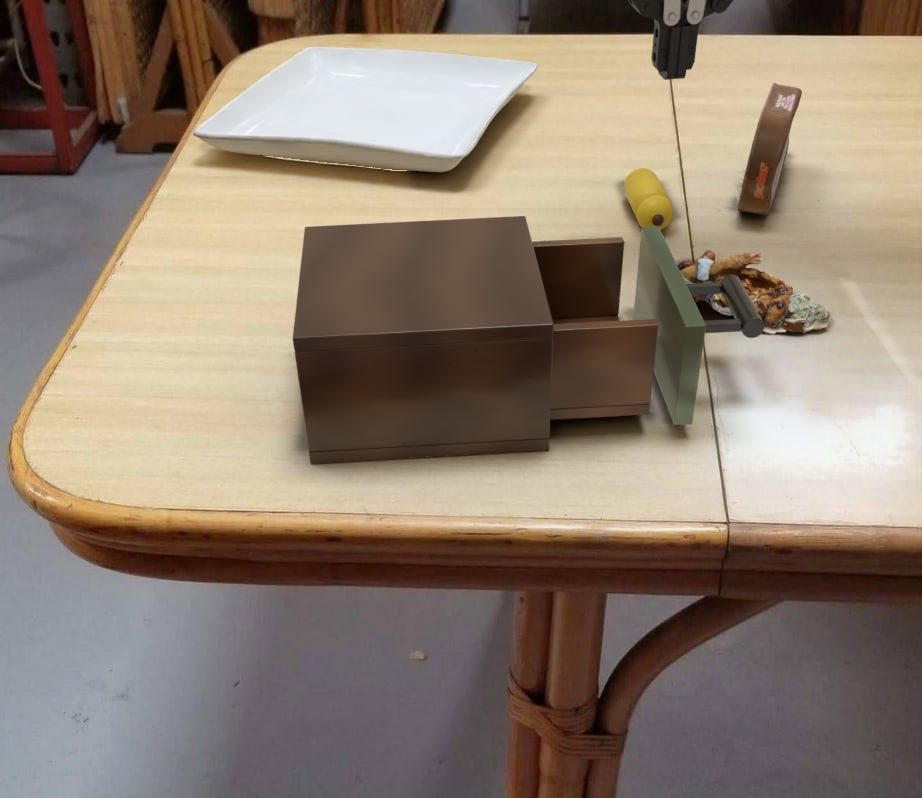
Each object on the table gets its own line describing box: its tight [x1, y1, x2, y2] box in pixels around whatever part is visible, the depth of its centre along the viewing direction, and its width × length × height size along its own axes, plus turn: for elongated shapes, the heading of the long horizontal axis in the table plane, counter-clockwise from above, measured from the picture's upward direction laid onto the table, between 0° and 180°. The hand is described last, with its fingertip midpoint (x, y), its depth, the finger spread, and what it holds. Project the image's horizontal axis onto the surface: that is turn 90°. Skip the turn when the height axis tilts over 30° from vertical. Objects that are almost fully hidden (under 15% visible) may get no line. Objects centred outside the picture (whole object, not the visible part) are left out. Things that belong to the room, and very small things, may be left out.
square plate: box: [192, 46, 539, 173], centre depth 108 cm, size 27×27×4 cm
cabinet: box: [292, 215, 554, 465], centre depth 69 cm, size 15×15×9 cm
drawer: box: [532, 226, 765, 426], centre depth 69 cm, size 18×14×7 cm
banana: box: [623, 167, 674, 231], centre depth 91 cm, size 3×9×3 cm, turn 4°
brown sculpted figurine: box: [677, 249, 831, 336], centre depth 78 cm, size 7×12×4 cm, turn 71°
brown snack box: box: [737, 82, 803, 216], centre depth 92 cm, size 15×3×8 cm, turn 161°
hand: (671, 75), depth 79 cm, fingers closed
